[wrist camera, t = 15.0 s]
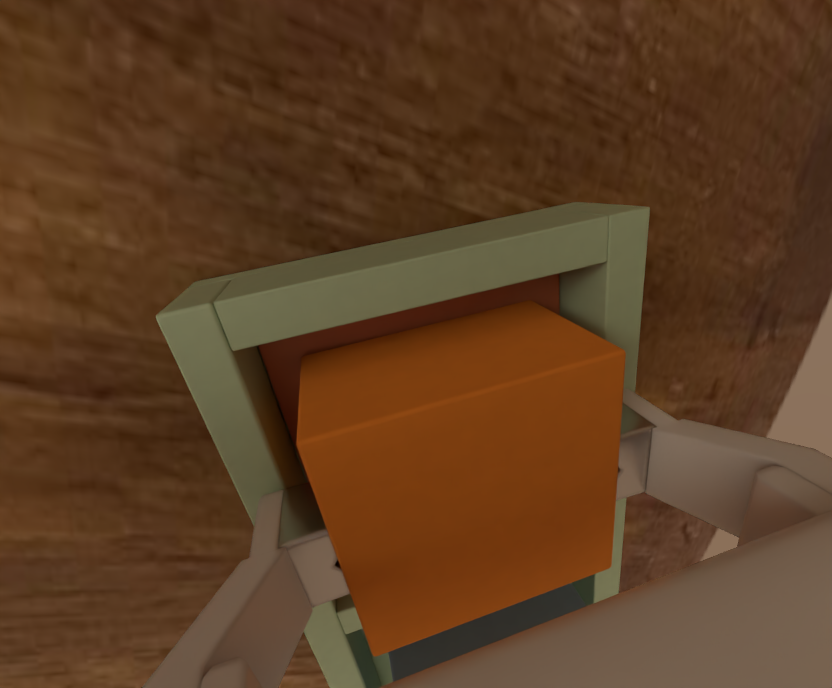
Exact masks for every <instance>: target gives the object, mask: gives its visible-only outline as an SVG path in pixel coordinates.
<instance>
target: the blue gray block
mask: <svg viewBox="0 0 832 688" xmlns="http://www.w3.org/2000/svg"><path fill="white" fill-rule="evenodd" d="M583 607H586V605H585V603H584V601H583V600H582V598H581V597H580V595H579V594H578V592H577V591H576V589H575V588H574V586H573V585H572V583H569V584H567V585H564V586H562V587H559V588H556V589H554V590H551V591H548V592H546V593H543V594H540V595H538V596H535V597H532V598H530V599H527V600H525V601H522V602H519V603H517V604H514V605H511V606H509V607H506V608H503V609H501V610H498V611H495V612H493V613H490V614H488V615H485V616H482V617H480V618H477V619H474V620H472V621H469V622H466V623H464V624H461V625H459V626H456V627H453V628H451V629H448V630H445V631H443V632H440V633H437V634H435V635H432V636H429V637H427V638H424V639H422V640H419V641H416V642H414V643H411V644H408V645H406V646H403V647H400V648H398V649H395V650H392V651H390V652H388V654H389V661H390V667H391V673H392V679H393V682H394V681H397V680H399V679H402V678H404V677H407V676H409V675H412V674H415V673H417V672H420V671H422V670H425V669H427V668H430V667H432V666H435V665H438V664H440V663H443V662H445V661H448V660H450V659H453V658H455V657H458V656H461V655H463V654H466V653H468V652H471V651H473V650H476V649H478V648H481V647H484V646H486V645H489V644H491V643H494V642H496V641H499V640H501V639H504V638H507V637H509V636H512V635H514V634H517V633H519V632H522V631H524V630H527V629H530V628H532V627H535V626H537V625H540V624H542V623H545V622H547V621H550V620H553V619H555V618H558V617H560V616H563V615H565V614H568V613H570V612H573V611H576V610H578V609H581V608H583Z"/></svg>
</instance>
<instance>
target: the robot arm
mask: <svg viewBox="0 0 832 688" xmlns="http://www.w3.org/2000/svg"><path fill="white" fill-rule="evenodd" d="M643 492H646V494H648V495H650V496H652V497H654V498H656V499H659V500H661V501H663V502H665V503H667V504H669V505H671V506H673V507H675V508H678V509H680V510H682V511H684V512H686V513H688V514H690V515H692V516H694V517H697V518H699V519H701V520H703V521H705V522H707V523H709V524H711V525H714V526H716V527H718V528H720V529H722V530H724V531H726V532H729V533H730V534H733V535H735V536H737V537H739V542H738V545H737V547H736V548H734V549H731V550H728V551H726V552H723V553H721V554H718V555H716V556H713V557H711V558H708V559H706V560H703V561H700V562H698V563H695V564H693V565H690V566H688V567H685V568H683V569H680V570H677V571H675V572H672V573H670V574H667V575H665V576H662V577H660V578H657V579H655V580H652V581H649V582H647V583H644V584H642V585H639V586H637V587H634V588H632V589H629V590H627V591H624V592H621V593H619V594H616V595H614V596H611V597H609V598H606V599H604V600H601V601H599V602H596V603H593V604H591V605H588V606H586V607H583V608H581V609H578V610H576V611H573V612H570V613H568V614H565V615H563V616H560V617H558V618H555V619H553V620H550V621H547V622H545V623H542V624H540V625H537V626H535V627H532V628H530V629H527V630H524V631H522V632H519V633H517V634H514V635H512V636H509V637H507V638H504V639H501V640H499V641H496V642H494V643H491V644H489V645H486V646H484V647H481V648H478V649H476V650H473V651H471V652H468V653H466V654H463V655H461V656H458V657H455V658H453V659H450V660H448V661H445V662H443V663H440V664H438V665H435V666H432V667H430V668H427V669H425V670H422V671H420V672H417V673H415V674H412V675H409V676H407V677H404V678H402V679H399V680H397V681H394V682H392V683H389V684H386V685H384V686H381V687H379V688H832V458H831V457H829V456H827V455H825V454H823V453H821V452H819V451H818V450H816V449H813V448H808V447H804V446H800V445H795V444H791V443H786V442H782V441H777V440H773V439H769V438H765V437H760V436H756V435H752V434H747V433H743V432H739V431H734V430H730V429H726V428H721V427H717V426H713V425H708V424H704V423H700V422H695V421H691V420H687V419H681V420H676V419H675V418H673V417H672V416H670V415H669V414H667V413H665V412H664V411H662V410H661V409H659V408H658V407H656V406H654V405H653V404H651V403H650V402H648V401H647V400H645V399H644V398H642V397H640V396H639V395H637V394H636V393H634V392H633V391H631V390H630V389H626V388H623V403H622V418H621V432H620V447H619V462H618V477H617V492H616V501H617V500H620V499H623V498H627V497H630V496H633V495H636V494H639V493H643ZM347 594H350V591H349V589H348V586H347V583H346V580H345V578H344V575H343V572H342V569H341V567H340V564H339V561H338V558H337V556H336V553H335V550H334V547H333V545H332V542H331V539H330V536H329V534H328V531H327V528H326V525H325V523H324V520H323V517H322V514H321V512H320V509H319V506H318V503H317V500H316V498H315V495H314V492H313V489H312V487H311V484H310V482H307V483H303V484H300V485H296V486H292V487H289V488H285V489H283V490H279V491H276V492H272V493H268V494H265V495H262V496H261V498H260V499H259V502H258V508H257V514H256V519H255V525H254V531H253V537H252V543H251V549H250V555H249V558H248V559H245V560H242V561H241V562H240V563H239V565H238V566H237V567H236V568H235V570H234V571H233V572H232V574H231V575H230V576H229V577H228V579H227V580H226V581H225V582H224V584H223V585H222V586H221V588H220V589H219V590H218V591H217V593H216V594H215V595H214V596H213V598H212V599H211V600H210V601H209V603H208V604H207V605H206V607H205V608H204V609H203V610H202V612H201V613H200V614H199V615H198V617H197V618H196V619H195V621H194V622H193V623H192V624H191V626H190V627H189V628H188V629H187V631H186V632H185V633H184V635H183V636H182V637H181V638H180V640H179V641H178V642H177V643H176V645H175V646H174V647H173V649H172V650H171V651H170V652H169V654H168V655H167V656H166V657H165V659H164V660H163V661H162V663H161V664H160V665H159V666H158V668H157V669H156V670H155V671H154V673H153V674H152V675H151V677H150V678H149V679H148V680H147V682H146V683H145V684H144V685H143V687H142V688H278V687H279V685H280V683H281V681H282V678H283V676H284V674H285V672H286V669H287V667H288V665H289V663H290V660H291V658H292V656H293V654H294V651H295V649H296V647H297V645H298V643H299V640H300V638H301V636H302V634H303V631H304V629H305V627H306V625H307V622H308V620H309V618H310V616H311V614H312V611H313V610H312V608H313V607H316V606H319V605H321V604H324V603H326V602H329V601H332V600H334V599H337V598H340V597H342V596H345V595H347Z"/></svg>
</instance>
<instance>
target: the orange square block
mask: <svg viewBox="0 0 832 688" xmlns="http://www.w3.org/2000/svg"><path fill="white" fill-rule="evenodd" d="M625 358H626V353H625V351H624V349H622V348H620V347H618V346H616V345H614V344H612V343H610V342H609V341H607V340H605V339H603V338H601V337H599V336H597V335H595V334H594V333H592V332H590V331H588V330H586V329H584V328H582V327H580V326H579V325H577V324H575V323H573V322H571V321H569V320H567V319H565V318H563V317H562V316H560V315H558V314H556V313H554V312H552V311H550V310H548V309H547V308H545V307H543V306H541V305H539V304H537V303H535V302H533V301H531V300H528V301H524V302H520V303H516V304H512V305H508V306H504V307H500V308H496V309H492V310H488V311H484V312H480V313H476V314H471V315H467V316H463V317H459V318H455V319H451V320H447V321H443V322H439V323H435V324H431V325H427V326H423V327H419V328H415V329H411V330H407V331H403V332H399V333H395V334H391V335H387V336H383V337H379V338H375V339H371V340H367V341H363V342H358V343H354V344H350V345H346V346H342V347H338V348H334V349H330V350H326V351H322V352H318V353H314V354H310V355H306V356H303V357H302V358H301V371H300V389H299V406H298V424H297V441H296V445H297V448H298V451H299V454H300V456H301V459H302V462H303V465H304V467H305V470H306V473H307V476H308V478H309V481H310V484H311V487H312V489H313V492H314V495H315V498H316V500H317V503H318V506H319V509H320V512H321V514H322V517H323V520H324V523H325V525H326V528H327V531H328V534H329V536H330V539H331V542H332V545H333V547H334V550H335V553H336V556H337V558H338V561H339V564H340V567H341V569H342V572H343V575H344V578H345V580H346V583H347V586H348V589H349V591H350V594H351V597H352V600H353V603H354V605H355V608H356V611H357V614H358V616H359V619H360V622H361V625H362V627H363V630H364V633H365V636H366V638H367V641H368V644H369V647H370V649H371V652H372V654H373V656H379V655H382V654H385V653H387V652H390V651H392V650H395V649H398V648H400V647H403V646H406V645H408V644H411V643H414V642H416V641H419V640H422V639H424V638H427V637H429V636H432V635H435V634H437V633H440V632H443V631H445V630H448V629H451V628H453V627H456V626H459V625H461V624H464V623H466V622H469V621H472V620H474V619H477V618H480V617H482V616H485V615H488V614H490V613H493V612H495V611H498V610H501V609H503V608H506V607H509V606H511V605H514V604H517V603H519V602H522V601H525V600H527V599H530V598H532V597H535V596H538V595H540V594H543V593H546V592H548V591H551V590H554V589H556V588H559V587H562V586H564V585H567V584H569V583H572V582H575V581H577V580H580V579H583V578H585V577H588V576H591V575H593V574H596V573H599V572H601V571H604V570H606V569H609V568H610V567H611V566H612V551H613V536H614V521H615V507H616V492H617V477H618V462H619V447H620V432H621V418H622V403H623V388H624V373H625Z"/></svg>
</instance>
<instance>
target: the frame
mask: <svg viewBox="0 0 832 688" xmlns="http://www.w3.org/2000/svg"><path fill="white" fill-rule="evenodd" d="M649 215H650V208H649V207H645V206H631V205H617V204H602V203H585V202H573V203H568V204H564V205H559V206H554V207H549V208H544V209H540V210H535V211H530V212H525V213H521V214H516V215H511V216H506V217H502V218H497V219H492V220H487V221H482V222H478V223H473V224H468V225H463V226H459V227H454V228H449V229H444V230H439V231H435V232H430V233H425V234H420V235H416V236H411V237H406V238H401V239H397V240H392V241H387V242H382V243H377V244H373V245H368V246H363V247H358V248H354V249H349V250H344V251H339V252H334V253H330V254H325V255H320V256H315V257H311V258H306V259H301V260H296V261H292V262H287V263H282V264H277V265H272V266H268V267H263V268H258V269H253V270H249V271H244V272H239V273H234V274H229V275H225V276H220V277H215V278H210V279H206V280H201V281H196V282H194V283H193V284H192V285H190V286H189V287H188V289H186V290H185V291H184V292H183V293H182V294H180V295H179V296H178V297H177V298H176V299H175V300H173V301H172V302H171V303H170V304H169V305H167V306H166V307H165V308H164V309H163V310H162V311H160V312H159V313H158V314H157V315H156V320H157V322H158V324H159V326H160V328H161V330H162V333H163V335H164V337H165V339H166V341H167V343H168V345H169V347H170V350H171V352H172V354H173V356H174V358H175V360H176V362H177V364H178V366H179V369H180V371H181V373H182V375H183V377H184V379H185V381H186V383H187V386H188V388H189V390H190V392H191V394H192V396H193V398H194V400H195V403H196V405H197V407H198V409H199V411H200V413H201V415H202V417H203V420H204V422H205V424H206V426H207V428H208V430H209V432H210V434H211V436H212V439H213V441H214V443H215V445H216V447H217V449H218V451H219V453H220V456H221V458H222V460H223V462H224V464H225V466H226V468H227V470H228V473H229V475H230V477H231V479H232V481H233V483H234V485H235V487H236V490H237V492H238V494H239V496H240V498H241V500H242V502H243V504H244V506H245V509H246V511H247V513H248V515H249V517H250V519H251V521H252V523H253V526H254V525H255V519H256V514H257V508H258V502H259V499H260V498H261V496H262V495H265V494H268V493H272V492H276V491H279V490H283V489H285V488H289V487H292V486H296V485H300V484H303V483H307V482H310V481H309V478H308V476H307V473H306V470H305V467H304V465H303V462H302V459H301V456H300V454H299V451H298V448H297V445H296V441H297V424H298V406H299V389H300V371H301V358H302V357H303V356H306V355H310V354H314V353H318V352H322V351H326V350H330V349H334V348H338V347H342V346H346V345H350V344H354V343H358V342H363V341H367V340H371V339H375V338H379V337H383V336H387V335H391V334H395V333H399V332H403V331H407V330H411V329H415V328H419V327H423V326H427V325H431V324H435V323H439V322H443V321H447V320H451V319H455V318H459V317H463V316H467V315H471V314H476V313H480V312H484V311H488V310H492V309H496V308H500V307H504V306H508V305H512V304H516V303H520V302H524V301H528V300H531V301H533V302H535V303H537V304H539V305H541V306H543V307H545V308H547V309H548V310H550V311H552V312H554V313H556V314H558V315H560V316H562V317H563V318H565V319H567V320H569V321H571V322H573V323H575V324H577V325H579V326H580V327H582V328H584V329H586V330H588V331H590V332H592V333H594V334H595V335H597V336H599V337H601V338H603V339H605V340H607V341H609V342H610V343H612V344H614V345H616V346H618V347H620V348H622V349H624V351H625V353H626V358H625V373H624V388H626V389H630V390H631V391H633V392H634V393H635V386H636V374H637V362H638V350H639V337H640V325H641V313H642V301H643V288H644V276H645V264H646V252H647V239H648V227H649ZM625 509H626V498H623V499H620V500H617V501H616V507H615V521H614V536H613V551H612V566H611V567H610V568H609V569H606V570H604V571H601V572H599V573H596V574H593V575H591V576H588V577H585V578H583V579H580V580H577V581H575V582H572V585H573V586H574V588H575V589H576V591H577V592H578V594H579V595H580V597H581V598H582V600H583V601H584V603H585V605H586V606H588V605H591V604H593V603H596V602H599V601H601V600H604V599H606V598H609V597H611V596H614V595H616V594H619V582H620V570H621V558H622V546H623V533H624V521H625ZM312 610H313V611H312V614H311V616H310V618H309V620H308V622H307V625H306V627H305V629H304V631H303V632H304V634H305V636H306V638H307V640H308V642H309V644H310V647H311V649H312V651H313V653H314V655H315V657H316V659H317V661H318V663H319V666H320V668H321V670H322V672H323V674H324V676H325V678H326V680H327V683H328V685H329V687H330V688H379V687H381V686H384V685H386V684H389V683H392V682H393V679H392V673H391V667H390V661H389V654H388V652H387V653H385V654H382V655H379V656H373V654H372V652H371V649H370V647H369V644H368V641H367V638H366V636H365V633H364V630H363V627H362V625H361V622H360V619H359V616H358V614H357V611H356V608H355V605H354V603H353V600H352V597H351V594H347V595H345V596H342V597H340V598H337V599H334V600H332V601H329V602H326V603H324V604H321V605H319V606H316V607H313V608H312Z"/></svg>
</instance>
